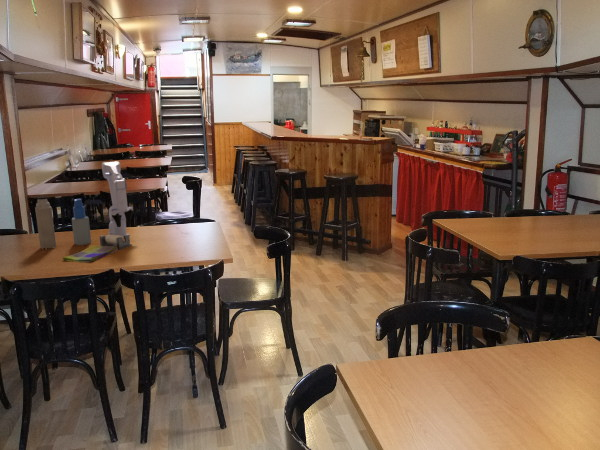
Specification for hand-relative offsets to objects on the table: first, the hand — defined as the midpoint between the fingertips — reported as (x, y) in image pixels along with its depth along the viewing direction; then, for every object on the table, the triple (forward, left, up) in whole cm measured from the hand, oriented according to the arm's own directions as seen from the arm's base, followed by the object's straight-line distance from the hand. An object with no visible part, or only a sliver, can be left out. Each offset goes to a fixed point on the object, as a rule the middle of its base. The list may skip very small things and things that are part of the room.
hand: (123, 225), depth 314 cm
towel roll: (+2, -10, -6) cm, 12 cm away
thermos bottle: (-32, -25, -10) cm, 42 cm away
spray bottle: (-21, -11, -10) cm, 26 cm away
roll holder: (+2, -10, -9) cm, 14 cm away
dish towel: (+3, -28, -10) cm, 30 cm away
